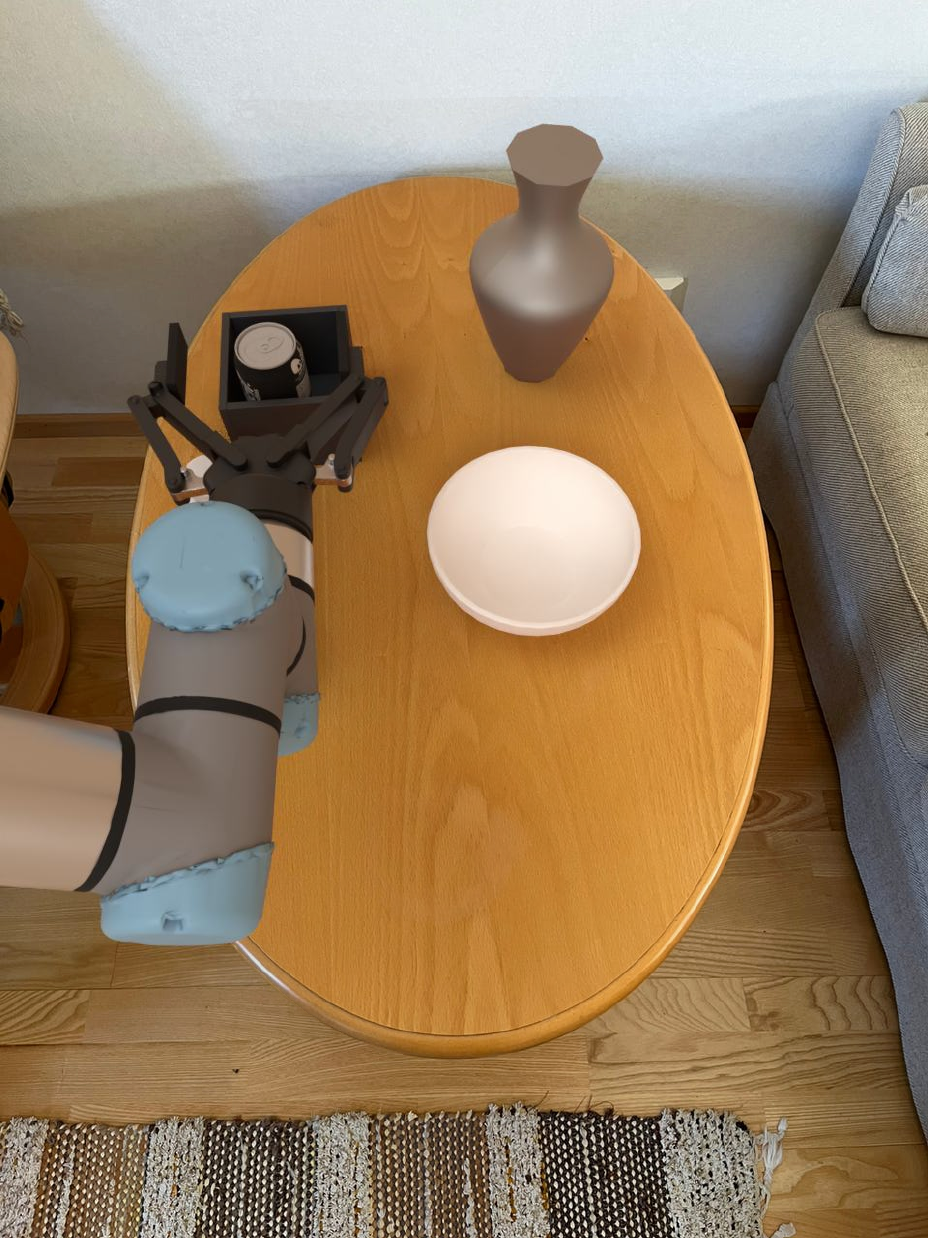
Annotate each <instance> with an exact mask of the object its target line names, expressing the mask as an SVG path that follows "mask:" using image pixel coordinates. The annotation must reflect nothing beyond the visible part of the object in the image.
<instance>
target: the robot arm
mask: <svg viewBox="0 0 928 1238" xmlns="http://www.w3.org/2000/svg"><path fill="white" fill-rule="evenodd" d="M336 325H337V343H338V361H339V374H340V379H341V384H340V385H339V386H338V387H337V389H336V390H335V391H334V392H333V393H332V394H331V395H330V396H329V397H328V398H327V399H326V400H325V401H324V402H323V403H322V404H321V405H320V406H319V407H318V408H317V409H316V410H315V411H314V412H313V413H312V414H311V415H310V416H309V417H308V418H307V420H306V421H305V422H304V423H303V424H301V425H300V424H297V425H296V426H295V427H294V428H293V429H292V430H291V431H290V432H289V433H288V434H287V435H286V436H285V437H281V436H279V433H276V434H267V435H264V436H261V437H254V436H238V440H236V441H234V442H232V443H231V441H230V440H228V439H227V438H225V437H224V436H223V435H222V434H221V433H219V431H217V430H213V429H212V428H211V427H209V426H208V425H207V423H205V422H204V420H202V419H200V418H199V417H198V416H197V415H196V414H195V413H193V411H191V410H190V409H189V408H188V407H187V406H186V396H187V395H186V394H187V375H188V374H187V373H188V355H189V346H188V343H187V340H186V338H185V336H184V332H183V329H182V328H181V325H180V323H179V322H169V324H168V337H167V339H168V340H167V354H166V355H167V356H166V360H157V362H156V363H155V365H154V375H153V380H151V381H149V382H148V384H147V390H148V392H149V394H147V395H145V396H141V395H138V394H134V395H131V396H129V397H128V398H127V400H126V404H127V406H128V408H129V410H130V412H131V414H132V416H133V418H134V420H135V421H136V423H137V425H138V427H139V429H140V431H141V433H142V434H143V436H144V437H145V439H146V441H147V443H148V444H149V446H150V447H151V449H152V451H153V453H154V454H155V456H156V458H157V459H158V461H159V462H160V465H161V466H162V468H163V476H164V485H165V487H166V489H167V490H168V492H169V494H170V496H171V498H172V500H173V501H174V504H175V505H176V507H174V508H172V509H170V510H168V511H166V512H165V513H163V514H162V515H160V516H159V517H158V518H156V519H155V520H154V521H153V522H151V523H150V525H148V526H147V528H146V529H145V530H144V531H143V532H142V534H141V535H140V537H139V538H138V540H137V543H136V545H135V546H134V549H133V552H132V556H131V561H130V562H131V563H130V573H131V579H132V583H133V584H134V589H135V591H136V593H137V595H138V597H139V599H138V601H139V603H140V604H141V606H142V611H143V612H144V613H145V614H146V615H147V616H148V617H149V618H150V623H149V628H148V636H147V641H146V645H145V653H144V660H143V664H142V671H141V676H140V683H139V689H138V695H137V700H136V706H135V710H134V714H133V715H134V716H133V721H132V730H131V731H129V730H122V729H116V728H113V727H111V726H108V725H102V724H98V723H97V724H96V723H92V722H87V721H82V720H77V719H71V718H67V717H61V716H55V715H51V714H46V713H41V712H36V711H35V712H34V711H31V710H25V709H21V708H16V707H11V706H6V705H1V704H0V886H1V887H12V888H25V889H38V890H51V891H64V892H75V893H93V894H98V895H99V896H100V899H99V906H100V908H101V915H100V928H101V931H102V933H103V934H104V935H105V936H106V937H107V938H108V939H110V940H113V941H115V942H120V943H135V944H140V945H150V946H212V945H213V946H214V945H225V944H230V943H236V942H238V941H242V940H244V939H245V938H247V937H250V936H251V935H252V934H253V933H254V932H255V931H256V930H257V928H258V927H259V925H260V922H261V920H262V917H263V913H264V907H265V901H266V895H267V889H268V884H269V883H268V882H269V875H270V870H271V864H272V858H273V853H274V851H275V847H276V846H275V841H273V828H274V816H275V815H274V814H275V813H274V812H275V801H276V799H275V798H276V785H277V771H278V758H281V757H282V758H283V757H286V756H290V755H293V754H297V753H299V752H301V751H303V750H305V749H307V748H308V747H309V746H311V744H312V743H313V742H314V741H315V740H316V738H317V736H318V733H319V717H320V716H319V715H320V714H319V712H320V708H319V707H320V701H321V700H322V693H321V692H320V690H319V670H318V654H317V653H318V651H317V649H318V648H317V632H316V630H317V629H316V610H315V607H316V594H315V591H316V590H315V553H314V552H315V551H314V546H313V543H314V514H313V494H314V492H315V490H316V489H317V487H318V486H337V490H338V491H339V492H341V493H343V494H347V493H350V492H352V490H353V489H354V481H355V469H356V467H357V465H358V463H359V462H358V461H359V459H360V458H361V456H362V455H364V452H365V450H366V448H367V447H368V445H369V442H370V441H371V440H372V436H373V435H374V434H375V431H376V429H377V427H378V426H379V424H380V421H382V418H383V416H384V414H385V412H386V410H387V408H388V406H389V404H390V401H389V389H388V382H387V381H388V380H387V379H386V378H385V377H384V376H381V375H380V376H375V377H374V378H370V377H367V376H366V375H365V373H366V372H365V361H364V355H363V350H362V348H361V346H360V345H353V346H352V347H349V335H348V328H347V322H346V315H345V311H336ZM352 415H353V416H352ZM351 416H352V418H351V420H350V422H349V424H348V425H347V427H346V429H345V431H344V433H343V434H342V436H341V438H340V440H339V442H338V444H337V447H336V451H335V454H330V455H329V456H328V459H327V460H326V462H325V464H322V466H318V467H316V465H314V464H313V463H312V462H313V461H314V460H315V459H316V457H317V454H318V451H319V450H320V449H321V448H322V447H323V446H324V445H325V444H326V443H327V442H328V440H329V439H330V438H331V437H332V436H333V435H334V434H335V433H336V432H337V431H338V430H339V429H340V428H341V427H342V426H343V424H344V423H345V422H346V421H347V420H348V419H349V418H350V417H351ZM159 418H162V419H163V420H164V421H165V422H166V423H168V425H170V426H171V428H173V429H174V430H176V431H177V432H178V433H179V434H180V435H181V437H183V438H185V440H187V441H188V442H189V443H190V444H191V445H192V446H194V447H195V448H196V449H197V450H198V451H199V452H200V453H201V454H202V455H205V456H206V457H207V458H208V459H209V460H210V461H211V462H212V465H211V466H210V467H209V468H208V469H207V470H206V472H205V473H204V475H203V477H197V476H196V475H195V474H194V472H193V471H192V470H191V469H188V468H187V467H186V465H182V463H181V462H180V459H179V457H178V455H177V454H176V452H175V450H174V448H173V447H172V445H171V444H170V442H169V440H168V439H167V437H166V435H165V434H164V431H163V430H162V428H161V427H160V425H159V424H158V422H157V420H156V419H159ZM298 448H299V449H298ZM362 457H363V456H362ZM202 495H209V501H205V502H192V503H189V502H190V499H191V497H196V496H202Z"/></svg>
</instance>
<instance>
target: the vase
mask: <svg viewBox="0 0 928 1238" xmlns="http://www.w3.org/2000/svg"><path fill="white" fill-rule="evenodd" d="M505 152H506V155H507V158H508V161H509V165H510V168H511V171H512V174H513V177H514V182H515V185H516V189H517V195H518V206H517V209H516V211H514V212H511V213H509V214H506V215H504V216H502V217H500V218H498V219H497V220H495V221H493V222H492V223H490V225H489V226H488V227H486V228H485V229H484V230H483V231H482V232H481V234H480V235H479V237H478V238H477V240H476V241H475V243H474V245H473V246H472V248H471V249H472V250H471V253H470V257H469V262H468V263H469V264H468V265H469V266H468V268H469V269H468V273H469V274H468V275H469V280H470V286H471V290H472V293H473V296H474V299H475V302H476V305H477V308H478V311H479V314H480V317H481V321H482V322H483V325H484V328H485V331H486V333H487V335H488V338H489V341H490V342H491V343H490V344H491V345H492V347H493V349H494V351H495V354H496V355H497V357H498V358H499V360H500V362H501V364H502V366H503V368H504V372H506V373H507V374H509V375H511V376H512V377H513V378H514V379H516V380H517V381H519V382H526V383H527V382H528V383H541V382H543V381H545V380H547V379H550V378H552V377H554V376H555V374H556V373H557V371H558V370H559V369H560V368H561V367H562V366H563V365H564V363H566V361H567V360H568V359H569V357H571V355H572V354H573V353H574V351H575V349H576V348H577V347H578V345H579V344H580V343H581V342H582V339H583V338H584V337H585V335H586V333H587V332H588V331H589V329H590V327H591V326H592V324H593V322H594V321H595V319H596V318H597V316H598V315H599V313H600V311H601V310H602V308H603V306H604V304H605V302H606V301H607V299H608V297H609V294H610V291H611V289H612V286H613V283H614V277H615V264H614V262H615V261H614V256H613V253H612V250H611V248H610V246H609V244H608V242H607V241H606V239H605V238H604V236H603V235H602V234H601V232H599V231H598V230H597V229H596V228H595V227H594V226H592V225H591V224H590V223H589V222H588V221H586V220H584V219H583V218H580V213H579V209H580V204H581V202H582V199H583V196H584V194H585V192H586V190H587V189H588V187H589V184H590V183H591V181H592V179H593V178H594V176H595V174H596V172H598V171H597V170H598V169H599V167H600V165H601V163H602V162H603V160H604V156H603V154H602V152H601V149H600V147H599V144H598V142H597V140H596V138H595V137H592V136H591V135H589V134H588V133H585V132H584V131H582V130H580V129H578V128H576V127H575V126H573V125H567V124H566V125H564V124H553V123H551V124H550V123H541V124H537V125H535V126H532V127H529V128H526V129H524V130H522V131H518V132H517V133H515V135H514V137H513V139H512V140H511V142H510V143H509V145H508V146H507V148H506V149H505Z"/></svg>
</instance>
